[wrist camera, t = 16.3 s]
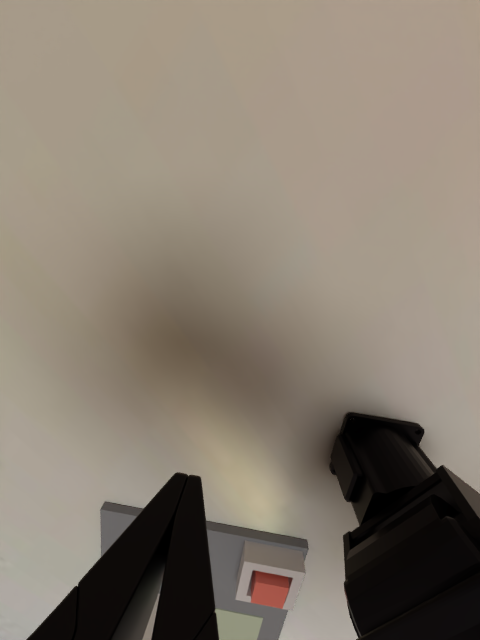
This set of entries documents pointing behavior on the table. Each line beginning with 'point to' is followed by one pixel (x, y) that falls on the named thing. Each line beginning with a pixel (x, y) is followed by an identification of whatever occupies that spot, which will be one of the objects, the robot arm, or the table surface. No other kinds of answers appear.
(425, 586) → the robot arm
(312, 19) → the table surface
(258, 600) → the button
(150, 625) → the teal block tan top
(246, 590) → the picture board
